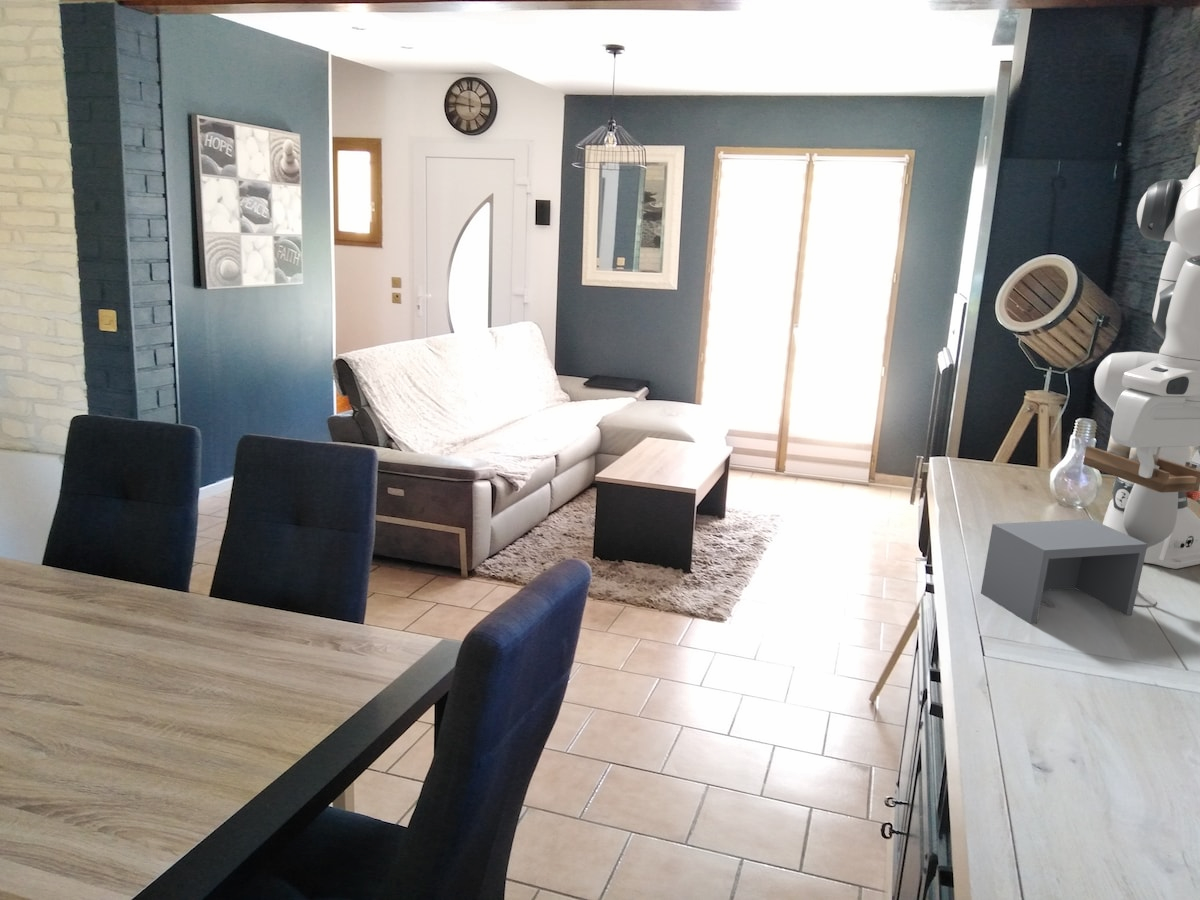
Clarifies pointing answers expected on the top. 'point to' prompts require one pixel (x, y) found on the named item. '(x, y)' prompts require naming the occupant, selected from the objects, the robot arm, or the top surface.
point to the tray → (1127, 466)
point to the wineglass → (1149, 522)
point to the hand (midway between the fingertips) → (1170, 476)
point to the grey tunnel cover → (1061, 564)
